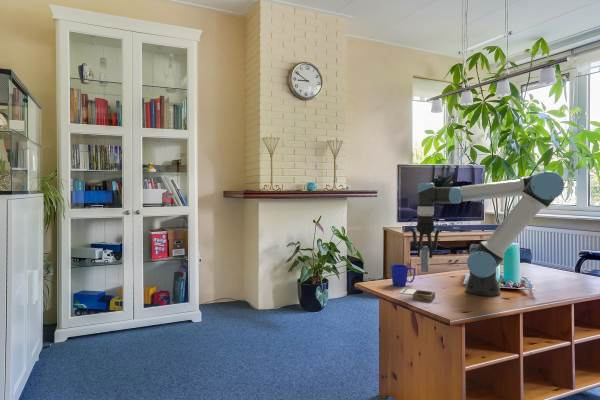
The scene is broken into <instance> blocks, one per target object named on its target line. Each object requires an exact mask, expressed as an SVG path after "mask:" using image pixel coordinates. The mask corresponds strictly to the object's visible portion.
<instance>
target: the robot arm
mask: <svg viewBox="0 0 600 400" xmlns="http://www.w3.org/2000/svg"><path fill="white" fill-rule="evenodd" d="M417 185H418V188H417V212H416V213H417V217H416V218H417V221H416V222H417V223H416V225H415V227H412V228H411V229H410V231H411V233H412V244H413V249H415V250H417V257H418V258H419V265H421V262H422V251H421V248H423V239H424V235H426V236H427V237H426V238H427V243H428V245H427V246H428V248H429V251H428V255H427V265H431V259H432V258H433V255H434V254H433V252H434V251H436V250H437V248H438V241H439V234H440V233H441V229H439V228H436V227H435V217H434V214H435V204H460V203H462V202H468V201H469V202H470V201H479V200H480V201H481V200H491V199H501V198H515V197H521V198H520V199H519V200H518V201H517V203H516V204H515V205H514V206H513V208H512V209H511V210H510V211H509V213H508V214H507V215H506V216H505V217H504V219H502V221H501V222H500V223H499V225H498V226H497V227H496V228H495V230H494V231H493V232H492V233H491V235H490V236H489V237H488V238H487V239H486V240H483V241H480V242H479V244H475V243H471V244H470V246H469V256H468V257H467V259H466V266H467V268H468V270H469V276H468V278H467V281H466V284H465V292H467V293H469V294H471V295H477V296H482V297H483V296H485V297H494V296H495V297H496V296H499V295H500V294H501V288H500V284H499V283H498V279H497V268H498V267H499V265H500V264H501V263H502V262H503V261H504V259H505V252H507V250H508V249H509V247H510V246H511V245H513V243H514V242H515V241H516V239H517V238H518V237H519V235H520V234H521V233H522V232H523V231H524V230H525V229H526V227H528V225H529V224H530V223H531V222H532V221H533V220H534V219H535V217H536V216H537V214H538V213H539V212H540V211H541V209H548V207H550V205H551V204H552V203H553V202H554V201H555V199H556V198H558V197H559V196H560V195H562V194H563V191H564V189H565V182H564V179H563V178H562V176H561V175H560V174H559V173H557V172H555V171H553V170H541V171H539V172H537V173H536V174H532V175H528V176H522V177H520V179H515V180H505V181H497V182H495V181H494V182H488V183H486V182H485V183H479V184H469V185H462V186H441V187H440V186H439V187H438V186H435V183H434V182H420V183H419V184H417ZM417 231H418V232H419V238H418V239H417V237H418V235H417ZM433 232H434V239H432V233H433ZM432 241H433V242H432Z"/></svg>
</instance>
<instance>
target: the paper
mask: <svg viewBox="0 0 600 400" xmlns="http://www.w3.org/2000/svg"><path fill="white" fill-rule="evenodd" d="M417 290H418V289H412V288H403V289H401V291H399V292H398V293H399V294H404V295H411V296H413V293H414V292H415V291H417Z"/></svg>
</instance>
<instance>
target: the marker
mask: <svg viewBox="0 0 600 400" xmlns="http://www.w3.org/2000/svg"><path fill="white" fill-rule="evenodd" d="M421 251H422V262H421V264H420V272H422V273H429V270H430V269H429V267H430V266H429V265H427V255H428V251H429V245H422V247H421Z"/></svg>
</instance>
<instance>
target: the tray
mask: <svg viewBox="0 0 600 400" xmlns="http://www.w3.org/2000/svg"><path fill="white" fill-rule="evenodd" d="M416 290H417V291H415V292H414V293H413V295H412V300H413V301H420V302H427V303H432V302H433V301H434V300H435V298H436V291H430V290H421V289H416Z"/></svg>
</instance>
